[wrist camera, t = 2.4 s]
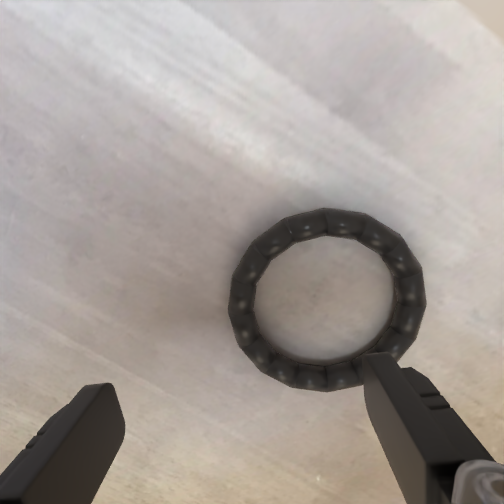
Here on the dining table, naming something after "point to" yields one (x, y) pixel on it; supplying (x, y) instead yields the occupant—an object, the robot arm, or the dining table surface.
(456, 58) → the dining table surface
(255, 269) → the hoop
